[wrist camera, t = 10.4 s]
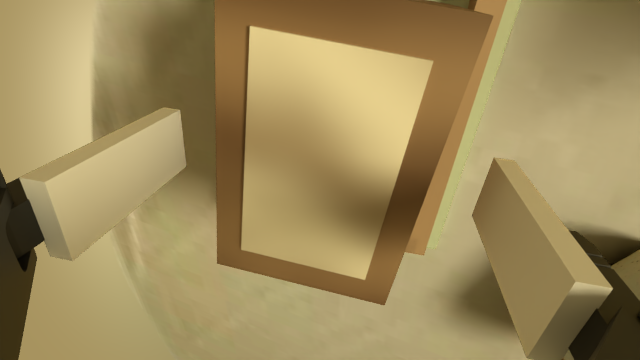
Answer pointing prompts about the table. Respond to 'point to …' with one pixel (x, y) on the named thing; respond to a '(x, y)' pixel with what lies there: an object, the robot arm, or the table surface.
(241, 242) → the wooden box
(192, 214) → the table surface
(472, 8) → the panel
